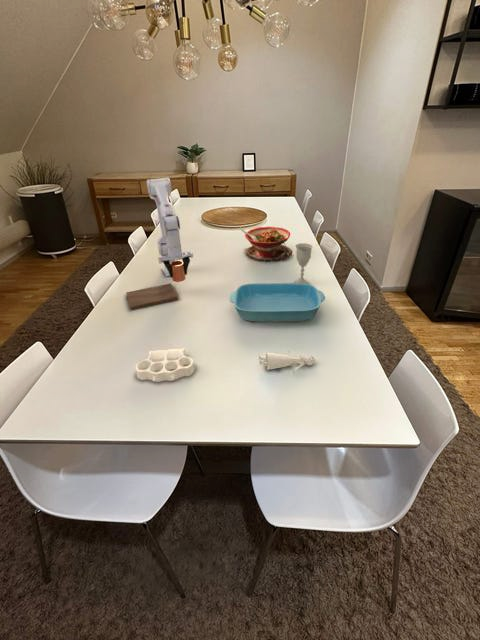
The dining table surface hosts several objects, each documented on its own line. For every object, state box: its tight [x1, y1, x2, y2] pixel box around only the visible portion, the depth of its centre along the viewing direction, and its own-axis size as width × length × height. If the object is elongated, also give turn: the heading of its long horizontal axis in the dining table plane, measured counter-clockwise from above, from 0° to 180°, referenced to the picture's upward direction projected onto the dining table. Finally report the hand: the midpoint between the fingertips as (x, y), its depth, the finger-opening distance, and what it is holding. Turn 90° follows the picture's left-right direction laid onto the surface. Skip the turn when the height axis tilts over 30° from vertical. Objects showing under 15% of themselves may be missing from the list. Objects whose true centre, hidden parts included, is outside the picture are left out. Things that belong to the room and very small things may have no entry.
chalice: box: [295, 242, 314, 284], centre depth 152 cm, size 7×7×18 cm
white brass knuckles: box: [134, 347, 195, 383], centre depth 110 cm, size 3×18×15 cm
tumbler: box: [170, 260, 186, 283], centre depth 149 cm, size 6×6×8 cm
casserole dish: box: [229, 282, 326, 323], centre depth 136 cm, size 37×22×7 cm, turn 86°
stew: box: [238, 225, 293, 263], centre depth 182 cm, size 28×24×16 cm
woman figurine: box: [258, 349, 316, 374], centre depth 109 cm, size 12×4×18 cm
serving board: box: [125, 282, 179, 311], centre depth 151 cm, size 14×20×2 cm
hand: (178, 275), depth 150 cm, fingers closed on tumbler, 6 cm apart
